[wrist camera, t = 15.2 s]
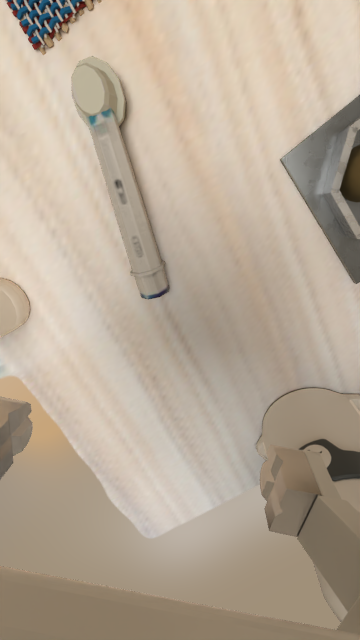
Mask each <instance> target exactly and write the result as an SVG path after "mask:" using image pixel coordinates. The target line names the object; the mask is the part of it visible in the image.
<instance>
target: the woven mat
mask: <svg viewBox="0 0 360 640" xmlns="http://www.w3.org/2000/svg"><path fill="white" fill-rule="evenodd" d="M67 1H68V2H67ZM67 1H66V0H8V3H7V4H8V6H9V7H10V8H12V10H14V11H13V12H12V13H13V15H14V16H15V17H18V19H19V20H20V21H21V22H19V23H20V26H21V28H22V30H23V31H24V33H25V34H28V36H29V38H28V40H29V42H30V43H33V45H32V46H33V48H34V49H35V50H36V49H37V48H38V49H39V50H40V51H41V53H42V54H43V55H44V54H45V53H46V52H45V50H44V48H43V47H44V46H43V45H45V44H47V46H48V47H49V48H50V47H51V46H53V43H54V42H53V41H52V38H53V36H54V35H55V37H56V38H57V40H58V41H60V40H61V39H62V37H61V35H60V33H59V31H58V29H59V28H60V27H61V28H62V30H63V31H65V32H66V33H67V31H68V26H67V24H66V22H67V21H68V20H70V22H71V23H72V24H73V23H74V22H75V21H76V18H75V13H76V12H77V11H78V12H79V14H80V16H81V15H82V14H83V13H84V11H83V9H82V8H83V7H86V6H87V7H88V9H89V11H90V10H91V9H92V8H93V6H94V4H93V3H92V0H67ZM97 1H98V3H100V2H101V0H97ZM45 6H46V7H45ZM46 8H47V9H46ZM25 14H26V15H25ZM23 27H24V28H23Z"/></svg>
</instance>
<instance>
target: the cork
mask: <svg viewBox="0 0 360 640" xmlns="http://www.w3.org/2000/svg"><path fill="white" fill-rule="evenodd" d="M340 192H341V194H342V196H343V197H344V198H346V199H347V200H349V201H352V202H360V145H358V146H356V147H354V148H353V149H351V153H350V156H349V159H348V163H347V166H346V169H345V173H344V176H343V179H342V183H341V186H340Z"/></svg>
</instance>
